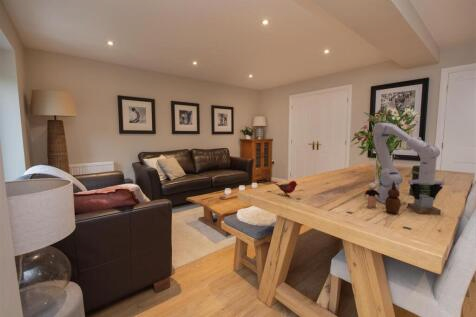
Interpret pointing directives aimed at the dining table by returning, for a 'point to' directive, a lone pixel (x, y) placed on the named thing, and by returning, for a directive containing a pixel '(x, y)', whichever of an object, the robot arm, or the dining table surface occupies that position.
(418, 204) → the slate cube
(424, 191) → the coffee jar
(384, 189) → the robot arm
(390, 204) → the wooden figurine
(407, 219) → the dining table surface
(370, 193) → the grandmother figurine
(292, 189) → the decorative bird figurine
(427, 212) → the walnut block
